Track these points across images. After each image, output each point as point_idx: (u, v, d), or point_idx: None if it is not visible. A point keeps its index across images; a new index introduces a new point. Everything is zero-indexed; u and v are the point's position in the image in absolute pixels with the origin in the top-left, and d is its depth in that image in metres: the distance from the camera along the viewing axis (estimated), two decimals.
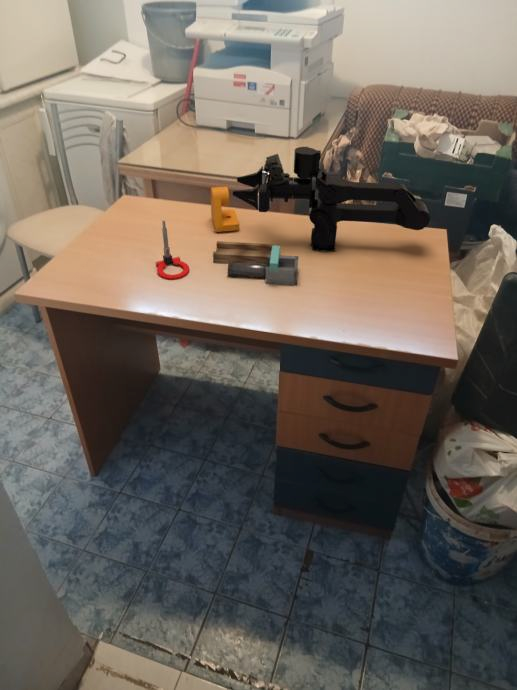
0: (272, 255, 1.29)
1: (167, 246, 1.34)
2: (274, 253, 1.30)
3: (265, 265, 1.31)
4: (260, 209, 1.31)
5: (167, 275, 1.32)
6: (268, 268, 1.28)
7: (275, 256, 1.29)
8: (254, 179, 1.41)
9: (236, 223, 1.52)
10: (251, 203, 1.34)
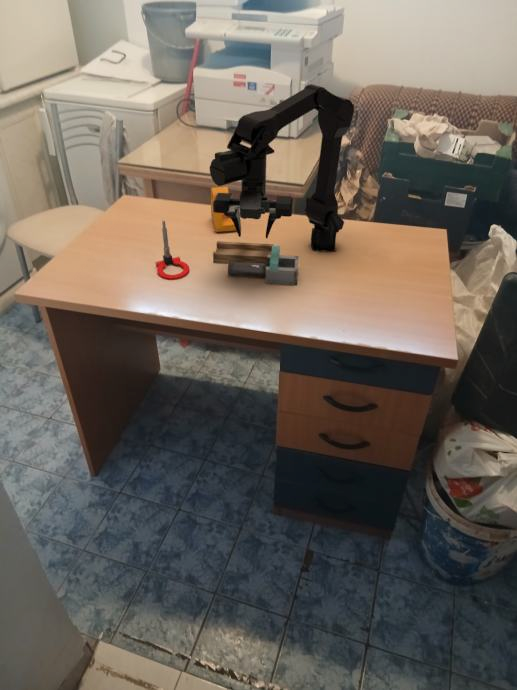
0: (272, 255, 1.29)
1: (167, 246, 1.34)
2: (274, 253, 1.30)
3: (265, 264, 1.32)
4: None
5: (167, 275, 1.32)
6: (268, 268, 1.28)
7: (275, 256, 1.29)
8: (238, 218, 1.24)
9: None
10: None
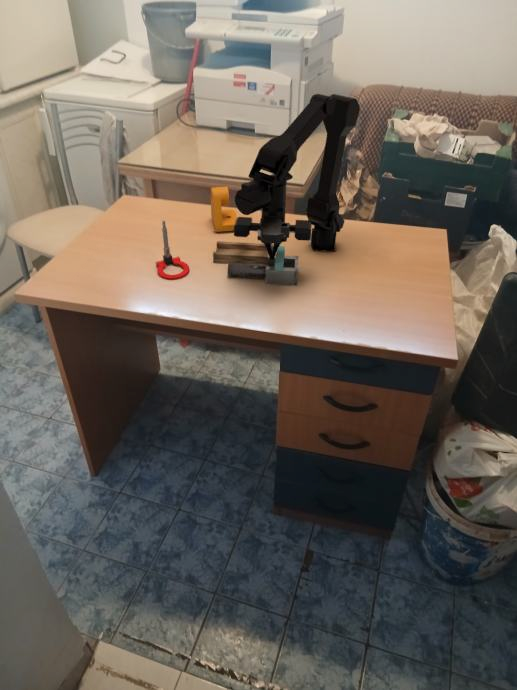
0: (277, 255, 1.29)
1: (167, 246, 1.34)
2: (279, 253, 1.30)
3: (265, 266, 1.31)
4: None
5: (167, 275, 1.32)
6: (268, 268, 1.28)
7: (280, 256, 1.29)
8: None
9: None
10: None
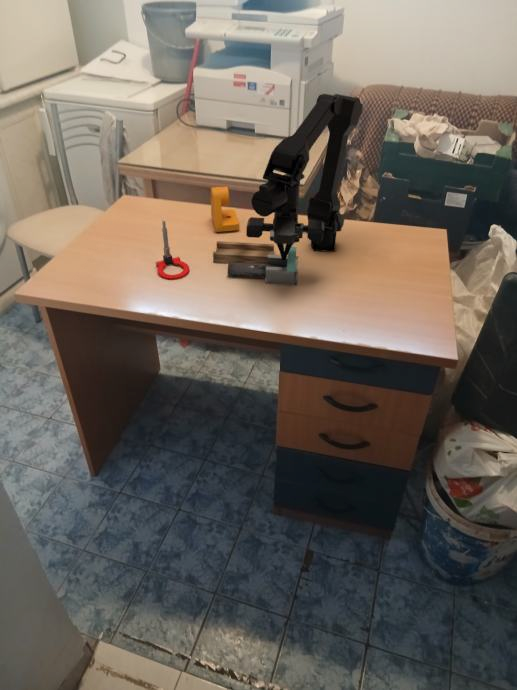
0: (289, 256, 1.29)
1: (167, 246, 1.34)
2: (291, 254, 1.30)
3: (265, 266, 1.31)
4: None
5: (167, 275, 1.32)
6: (268, 268, 1.28)
7: (292, 257, 1.28)
8: None
9: (236, 223, 1.52)
10: None
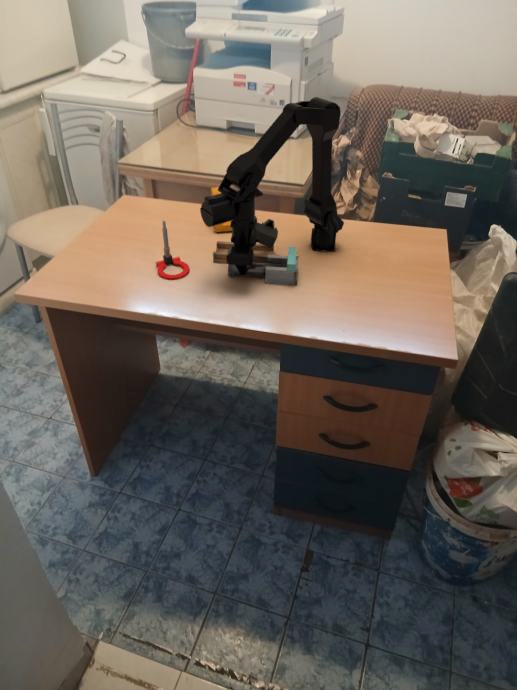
0: (289, 256, 1.29)
1: (167, 246, 1.34)
2: (291, 254, 1.30)
3: (265, 264, 1.31)
4: None
5: (167, 275, 1.32)
6: (268, 268, 1.28)
7: (292, 257, 1.28)
8: None
9: None
10: None
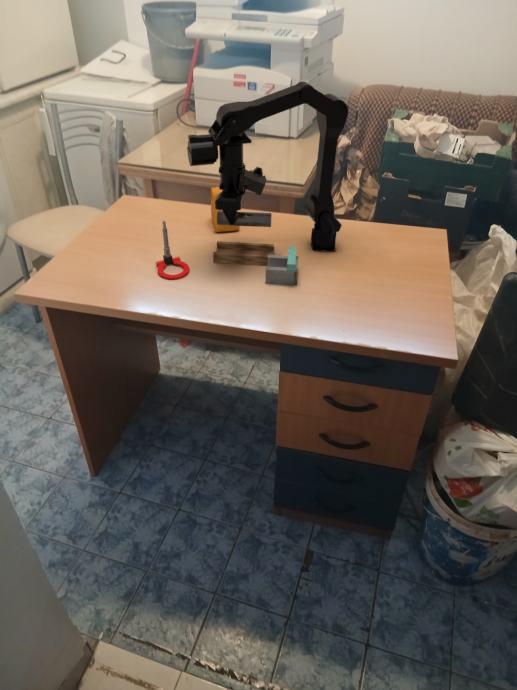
0: (289, 256, 1.29)
1: (167, 246, 1.34)
2: (291, 254, 1.30)
3: (254, 213, 1.32)
4: None
5: (167, 275, 1.32)
6: (268, 268, 1.28)
7: (292, 257, 1.28)
8: None
9: None
10: None
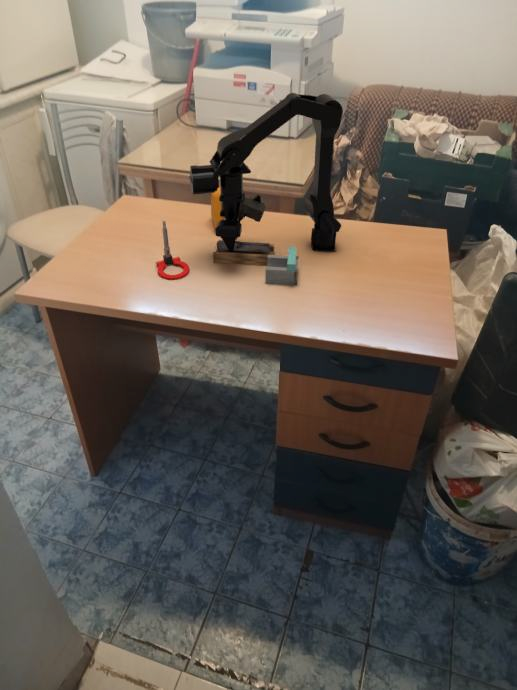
0: (289, 256, 1.29)
1: (167, 246, 1.34)
2: (291, 254, 1.30)
3: (253, 243, 1.38)
4: None
5: (167, 275, 1.32)
6: (268, 268, 1.28)
7: (292, 257, 1.28)
8: None
9: None
10: None
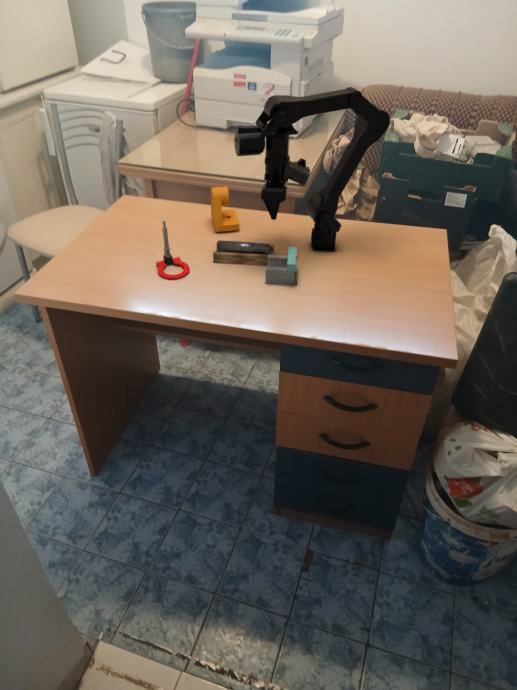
0: (289, 256, 1.29)
1: (167, 246, 1.34)
2: (291, 254, 1.30)
3: (253, 243, 1.38)
4: None
5: (167, 275, 1.32)
6: (268, 268, 1.28)
7: (292, 257, 1.28)
8: None
9: (236, 223, 1.52)
10: None
